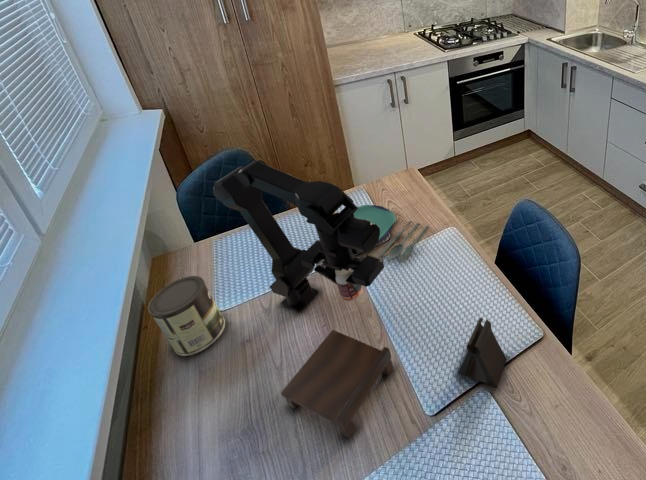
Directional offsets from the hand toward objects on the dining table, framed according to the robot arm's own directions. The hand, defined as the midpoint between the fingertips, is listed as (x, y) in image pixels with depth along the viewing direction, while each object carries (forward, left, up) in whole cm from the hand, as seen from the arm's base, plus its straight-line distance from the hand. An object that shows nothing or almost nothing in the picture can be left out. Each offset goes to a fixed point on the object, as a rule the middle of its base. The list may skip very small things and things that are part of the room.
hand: (350, 287), depth 94 cm
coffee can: (-34, -17, -11) cm, 39 cm away
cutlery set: (-14, +24, -11) cm, 30 cm away
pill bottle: (0, 0, -2) cm, 2 cm away
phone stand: (+33, 0, -11) cm, 35 cm away
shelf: (+7, -14, -11) cm, 19 cm away
